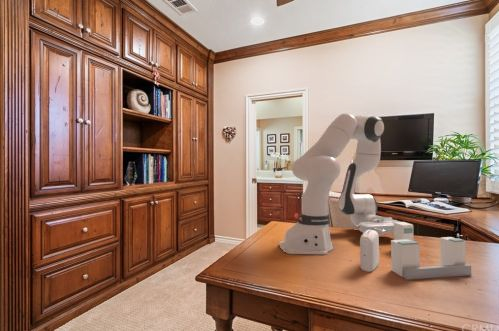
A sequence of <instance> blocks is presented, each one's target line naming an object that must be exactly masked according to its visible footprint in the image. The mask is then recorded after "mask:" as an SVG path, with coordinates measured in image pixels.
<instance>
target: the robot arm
mask: <svg viewBox="0 0 499 331" xmlns="http://www.w3.org/2000/svg"><path fill="white" fill-rule="evenodd" d="M384 132H385V123H384V120H383V119H382V118H381V117H379V116H375V115H372V116H366V115H365V116H364V115H355V116H354V115H352V114H350V113H346V112H345V113H341V114H339V115H338V116H337V117H336V118H335V119H334V120H333V121H332V122H331V123H330V125H328V127H327V128H326V129H325V131H324V132H323V134H322V135H321V136H320V138H318V140H317V141H316V143H314V144H313V145H312V146H311V147H310V148H309V149H308V150H307V151H306V152H304V154H303V155H301V156H300V157H299V158H297V159H295V161H294V162H293V164H292V166H291V171H292V174H293V176H294V177H296V178H297V179H299V180H301V181H305V182H307V185H306V188H305V191H304V192H303V193H302V194H301V213H299V214H298V213H294V219H297V222H296V223H295V224H293V225H292V226H291V227H289V229H287V230H286V231H285V234H284V240H282V241H280V242H279V244H278V245H279V246H280V247H279V248H281V249H282V250H283V251H282V250H281V249H280V250H281V251H282V252H283V253H285V252H286V254H288V255H327V254H328V252H330V251H333V249H334V246H333V243H332V239H331V234H330V227H331V226H330V223H331V219H330V218H331V217H330V214H329V197H330V191H331V189H332V186H333V184H334V182H335V180H337V179H338V177H339V176H340V175H341V174H340V173H341V165H340V163H339V161H338V159H336V158H337V157H339V156H340V155H341V154H342V152H343V151H344V150H345V148H346V146H347V145H348V144H349V142H350V140H351V139H352V140H357V142H356V151H355V157H354V159H353V161H352V162H351V163H350V164H349V165H348V167H347V170H346V173H345V177H344V180H343V181H344V182H343V185H342V190H341V194H340V196H339V198H338V202H337V203H338V204H337V206H338V210H339V211H340V212H342V214H344V215H345V216H346V215H348V216H349V215H350V221H351V223H352V224H353V225H354V226H355V228H357V229H358V230H359V232H361V233H362V234H363V233H364V232H365V231H367V230H374V231H376V232H377V233H378V235H381V236H382V235H383V236H384V235H385V234H394V222H401V221H400V220H397V219H393V218H392V217H390V216H380V215H377V212H378V202H377V199H376V198H375V197H374V196H373V195H372V194H371V193H360V194H354V190H355V186H356V182H357V180H358V179H359V177H361V176H363V175H365V174H366V173H370V172H372V171H374V170H375V169H376V168H377V167H378V166H379V164H380V161H381V153H382V152H381V151H382V147H381V146H382V145H381V144H382V143H381V137H382V136H383V134H384Z"/></svg>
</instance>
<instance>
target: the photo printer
mask: <svg viewBox="0 0 499 331" xmlns="http://www.w3.org/2000/svg"><path fill="white" fill-rule="evenodd" d="M379 237H380V236H379V234H378V233H377V232H376V231H374V230H367V231H365V232H364V233H362V234H361V236H360V240H359V257H360V260H359V261H360V262H359V263H360V269H361V270H362V271H363V272H369V273H371V272H373V271H374V270H375V269H376V268H377V267H378V265H379V264H380V263H379V262H380V244H379V243H380V242H379V241H380V240H379V239H380V238H379Z"/></svg>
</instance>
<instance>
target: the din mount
mask: <svg viewBox="0 0 499 331" xmlns="http://www.w3.org/2000/svg"><path fill="white" fill-rule="evenodd" d="M466 247H467V246H466V241H465V240H464V239H462V238H459V237H458V238H457V237H456V238H455V237H453V236H446V237H445V236H444V237H443V236H442V237H440V265H432V266H421V260H420V259H421V257H420V255H421V254H420V253H421V252H420V248H421V246H420V243H419V242H417V241H415V240H413V241H411V240H408V239H405V240H394V239H391V240H390V258H391V259H390V260H391V261H390V262H391V263H390V265H391V266H390V268H391V272H393V273H395V274H396V275H398V276H399V277H401V278H403V279H405V280H421V279H434V278H435V279H436V278H447V277H449V278H450V277H462V276H463V277H464V276H472V265H471V264H468V263H467V259H466V258H467V257H466V256H467V255H466V253H467V248H466Z"/></svg>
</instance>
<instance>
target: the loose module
mask: <svg viewBox="0 0 499 331" xmlns="http://www.w3.org/2000/svg"><path fill="white" fill-rule="evenodd" d="M405 239H408V240H411V241H414V224H412V223H409V222H405V221H400V222H394V233H393V240H405Z"/></svg>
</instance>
